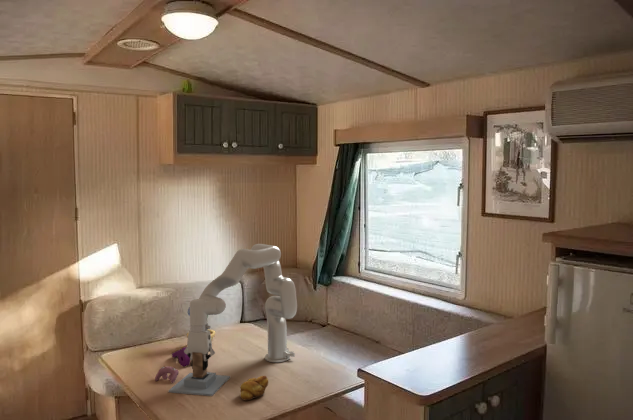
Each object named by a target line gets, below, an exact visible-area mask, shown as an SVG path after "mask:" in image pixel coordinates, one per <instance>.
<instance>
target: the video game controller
mask: <svg viewBox="0 0 633 420" xmlns="http://www.w3.org/2000/svg"><path fill="white" fill-rule="evenodd" d="M168 374H169V375H168ZM179 374H180V372H179V369H177V368H175V367H174V366H161V368H159V369H158V371H157V374H156V375H155V377H154V381H155V382H158V381H159V380H160V379H161V378H162V379H163V380H167V379H168V380H169V381H170V383H171V384H174V383H175V381H176V380H177V378H178V375H179Z"/></svg>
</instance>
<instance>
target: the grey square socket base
mask: <svg viewBox="0 0 633 420" xmlns="http://www.w3.org/2000/svg"><path fill="white" fill-rule="evenodd" d="M229 379H231V375H223V374H222V375H221V374H217V372H211V371H209V372H208V371H207V374H206V375H205V376H204V377H203V378H198V377H193V372H188V374H186V375H185V376H184V377H183V378H182V379H180V380H179V381H178V382H177V383H175V385H173V386H172V387H171V388H170V389H168V393H171V394H173V393H174V394H184V395H197V396H208V397H212V396H214V395H216V393H217V392H218V391H219V390H220V389H221V388H222V387H223V386H224V385H225V384H226V383H227V382H228V381H229ZM225 382H226V383H225ZM224 383H225V384H224ZM223 384H224V385H223ZM222 385H223V386H222ZM220 387H221V388H220Z"/></svg>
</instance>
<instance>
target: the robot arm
mask: <svg viewBox="0 0 633 420" xmlns="http://www.w3.org/2000/svg"><path fill="white" fill-rule="evenodd" d="M281 256H282V252H281V249H280V248H279V247H278V246H276V245H273V244H272V245H271V244H267V243H266V244H265V243H256V244H253V245H252V246H251V248H250V249H249V248H241V249H238V250H237V251H235V254H234V255H233V257H232V259H231V260H230V261H229V263H228V265H227V266H226V267H225V269H224V271H223V272H222V273H221V274H219V275H218V276H216V277H215V278H214V279H213V280H212V281H210V282H209V284H208V285H206V286H205V288H204V290H203V291H202V292H201V294H200V295H199V298H195V299H192V300H191V301H189V307H190V316H189V330H188V332H189V333H188V332H187V333H188V338H187V342H186V347H187V348H186V349H185V350H184V353H185V354H187V355H188V357H189V358H190V366H191V369H192V370H193V362H192V352H195V353H202V354H203V358H204V361H203V370H205V369H207V370H208V367H209V359H210V358H212V356H214V355H215V354H216V352H215V350H214V349H213V343H212V342H213V340H211V334H210V330H211V325H209V322H208V319H207V316H208V317H209V316H213V315H214V316H215V315H220V314H222V313H223V312H225V310H226V301H225V300H224V299H222V298H221V297H218V295H219V294H220V293H221V292H222V291H224V290H226V289H228V288H231V287H234V286H236V285H237V284H239V283H240V281H241V279H242V278H243V276H244V274H245V273H246V272H247V270H248V269H255V270H256V269H260V268H263V271H264V280H265V281H264V283H265V288H266V292H267V293H269V294H271V295H272V296H269V297H267V299H266V301H265V304H264V308H265V313H266V321H267V322H266V323H267V324H266V325H267V354H266V355H265V356H264V360H265V361H267V362H269V363H284V362H287V361H289V360H290V359H291V358H293V357H295V356H296V353H295V352H294V351H293V350H292V351H290V350H289V348H287V346H288V345H287V343H288V341H287V340H288V338H287V334H288V333H287V331H288V329H287V319H289V320H290V319H293V318H294V317H295V316H296V315H297V311H298V300H297V289H296V285H295V282H294V281H293V280H292V279H291V278H289V277H286V276H283V273H282V265H281V263H280V260H281ZM208 329H210V330H208Z"/></svg>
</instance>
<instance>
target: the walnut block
mask: <svg viewBox="0 0 633 420" xmlns="http://www.w3.org/2000/svg"><path fill="white" fill-rule="evenodd" d="M203 361H204V358H203V354H202V353H195V352H192V362H193V369H192V373H193V377H198V378H203V377H204V376H205V375H206V374H207V372H208V368H207V369H205V370H203Z"/></svg>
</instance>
